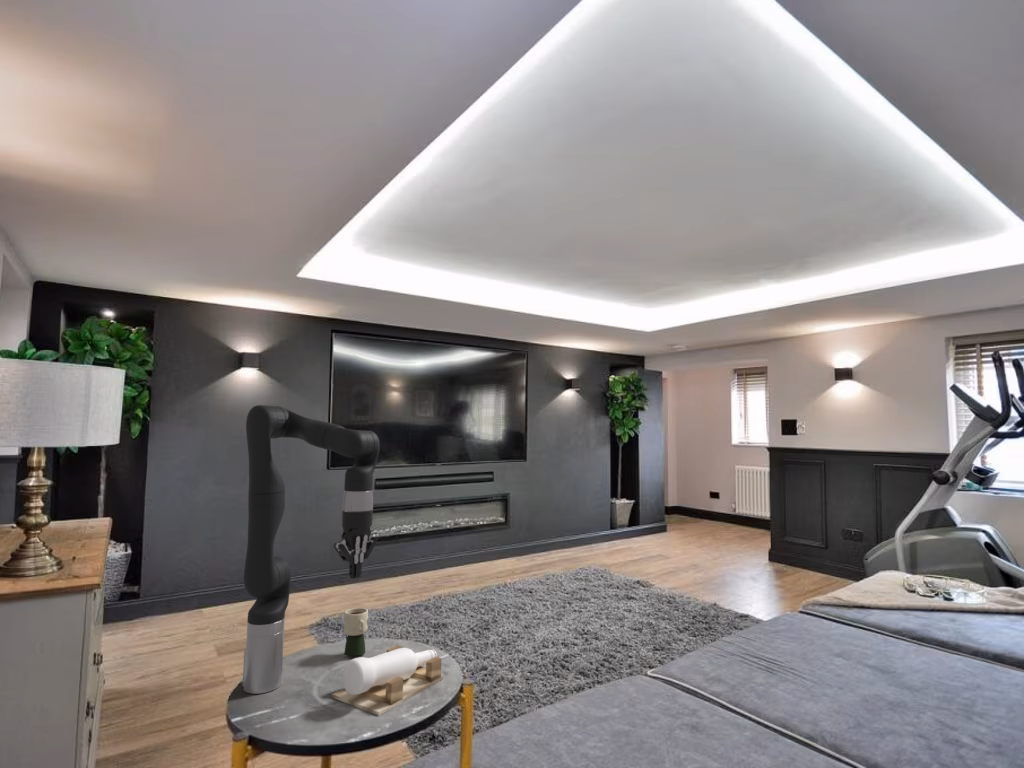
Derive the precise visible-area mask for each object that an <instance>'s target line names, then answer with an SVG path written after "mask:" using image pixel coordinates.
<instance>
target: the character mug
mask: <svg viewBox="0 0 1024 768" xmlns="http://www.w3.org/2000/svg"><path fill="white" fill-rule="evenodd" d="M343 618H344V619H343V633H344V635H346V636H347V637H346V641H345V646H344V656H345V657H358V656H362V655H364V654H366V641H365V633H366V632H367V631H368V629H369V626H368V620H369V609H368V608H365V607H353V608H349V609H346V610H344V615H343Z"/></svg>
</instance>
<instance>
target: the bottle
mask: <svg viewBox="0 0 1024 768" xmlns="http://www.w3.org/2000/svg"><path fill="white" fill-rule="evenodd" d="M434 657H438V653H437V651H436V649H431V648H430V649H426V650H423V651H418V652H414V650H412V649H410V648H408V647H402V648H399V649H396V650H393V651H389V652H387V651H386V652H384V653H380V654H378V655H375V656H371V657H366V656H359V657H355V658H352V659H350V660H349V661H348V662H347V663H346V664H345V665H344V667H343V669H342V673H341V681H342V686H343V689H344V688H345V690H346V691H347V692H348V693H350V694H361V693H364V692H366V691H368V690H369V689H370V688H371V687H374V686H378V685H383V684H386V682H387V681H389V680H391V679H393V678H395V677H397V676H398V677H401V678H403V680H405V679H407V678H409V677H411V676H412V675H413V674H414V672H415V670H416V668H417V667H420V666H422V667H424V666H426V661H428V660H430V659H432V658H434Z"/></svg>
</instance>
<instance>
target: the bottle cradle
mask: <svg viewBox="0 0 1024 768" xmlns="http://www.w3.org/2000/svg"><path fill="white" fill-rule="evenodd" d="M399 648H403V647H402V646H400V645H394V646H391V647H390V648H388V649H386V652H389V651H393V650H396V649H399ZM443 679H444V675H442V658H441V657H439V656H437V657H434V658H432V659H430V660H428V661H426V665H425V666H420V667H417V668H416V670H415V672H414V674H413V675H412V676H411V677H409V678H407V679H405V680H403V678H401V677H398V676H397V677H395V678H393V679H391V680H389V681H387V682H386V684H383V685H378V686H374V687H371V688H370V689H369V690H368V691H366V692H364V693H361V694H350V693H348V692H347V691H346V690H345V688H344V687H343V688H342V689H340V690H338V691H335V692H334V693H332V694H331V698H332V699H335V700H337V701H340V702H343V703H345V704H348V705H349V706H353V707H355V708H358V709H361V710H363V711H366V712H368V713H371V714H374V715H376V716H379V717H380V716H381V715H383V714H385V713H386V712H388V711H390V710H392V709H393V708H395V707H396V706H399V705H400V704H402V703H403V702H405V701H407V700H409V699H410V698H412V697H414V696H416V695H418V694H419V693H422V692H423V691H424V690H427V689H428V688H430V687H432V686H433V685H435V684H437V683H439V682H440V681H442V680H443Z"/></svg>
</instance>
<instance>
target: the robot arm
mask: <svg viewBox="0 0 1024 768" xmlns="http://www.w3.org/2000/svg"><path fill="white" fill-rule="evenodd" d="M245 422H246V423H245V431H246V443H247V454H248V498H247V499H248V500H247V501H248V502H247V504H248V505H247V510H248V512H247V513H248V515H247V517H248V519H247V520H248V521H247V522H248V523H247V525H248V526H247V546H246V554H245V563H244V571H243V584H244V589H245V590H246V592H247V593H248V595H249V596H250V597H252V598H255V602H254V604H252V606H251V608H250V609H249V610H248V612H247V624H246V625H247V626H246V643H245V644H246V645H245V649H244V653H243V667H242V669H243V670H242V682H241V683H242V685H241V687H243V691H244V692H245V693H247V694H253V695H254V694H255V695H256V694H265V693H269V692H271V691H273V690H276V689H278V688H279V687H280V686H282V679H283V678H282V677H283V663H284V662H283V660H284V659H283V658H284V643H285V641H284V640H285V639H284V638H285V621H286V620H285V617H286V610H287V608H288V605H289V602H290V601H289V600H290V592H291V591H290V590H291V580H292V579H291V575H292V574H291V568H290V565H289V563H288V561H287V560H286V559H285V558H283V557H281V556H278V555H277V556H275V555H274V548H275V547H274V545H275V539H276V535H277V533H278V530H279V528H280V525H281V523H282V519H283V517H284V513H285V509H286V485H285V482H284V479H283V477H282V475H281V472H280V471H279V470H278V468H277V465H276V463H275V462H274V460H273V459H274V458H273V456H272V447H271V443H272V442H271V441H272V440H271V439H279V438H294V439H300V440H303V441H304V442H306V443H307V444H309V445H311V446H314V447H317V448H319V449H324V450H327V451H332V452H334V453H336V454H338V455H341V456H343V457H347V458H352V459H355V460H354V464H353V465H352V466H350V467H348V468H347V469H346V471H345V473H344V486H343V487H344V488H343V491H344V492H343V497H342V512H341V528H342V533H341V534H342V535H341V538H340V540H339V541H338V542H335V543H334V544H333V548H334V549H335V551H336V552H337V554H338V556H339V557H340V558H341V560H342V562H346V563H348V564H349V566H348V567H349V569H348V575H349V578H350V579H353V580H355V579H360V578H361V575H362V568H363V562H364V561H365V560H366V559H367V560H368V559H369V557H370V555H371V554H372V551H373V549H374V548H375V546H376V545H377V542H378V540H379V538H378V536H377V537H376V536H374V535H372V530H371V527H372V526H373V519H374V518H373V514H374V513H373V511H374V494H373V488H374V487H373V486H374V473H375V469H376V465H377V462H378V458H379V454H380V450H381V449H380V447H381V446H380V445H381V444H380V439H379V437H378V435H377V434H376V433H375V432H374V431H372V430H361V429H360V430H357V429H350V428H345V427H344V426H342V425H340V424H337V423H332V422H328V421H322V420H317V419H312V418H308V417H305V416H303V415H300V414H298V413H296V412H294V411H292V410H289V409H287V408H286V407H282V406H279V405H263V404H262V405H261V404H259V405H254V406H252V407H251V408H250V409H249V411H248V413H247V416H246V421H245ZM243 680H244V681H243Z"/></svg>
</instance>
